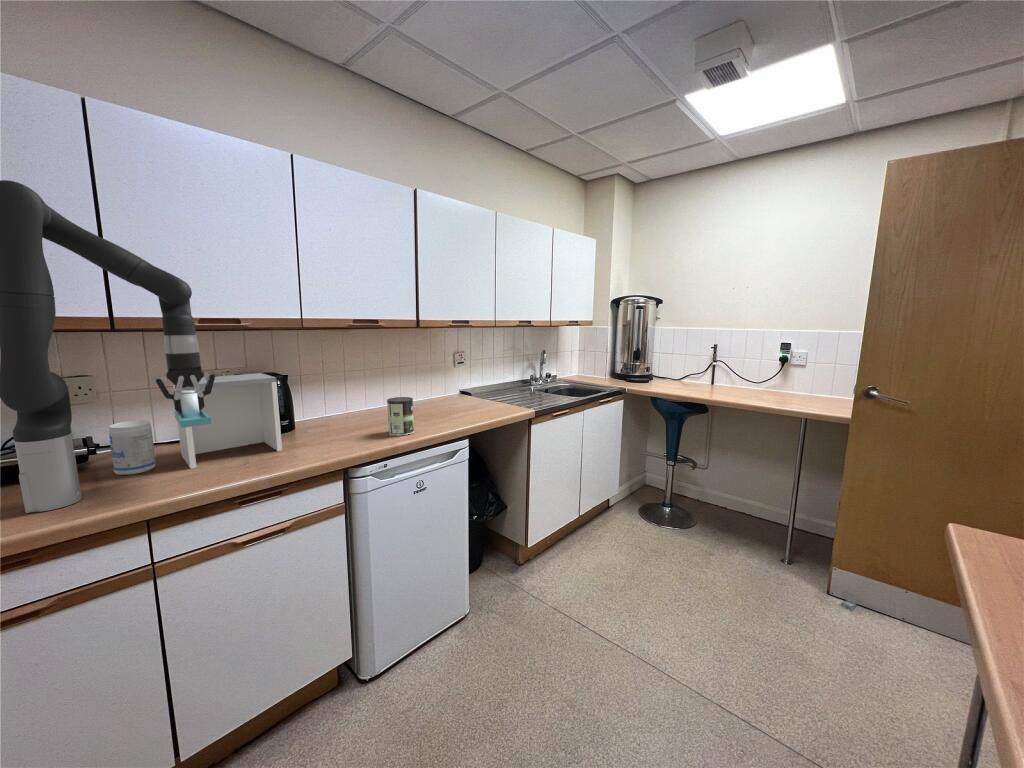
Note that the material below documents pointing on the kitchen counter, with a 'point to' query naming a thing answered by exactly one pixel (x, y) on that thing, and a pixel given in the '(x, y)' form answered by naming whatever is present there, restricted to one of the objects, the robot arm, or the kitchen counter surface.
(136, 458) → the supplement tub
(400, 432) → the coffee can
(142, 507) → the kitchen counter surface
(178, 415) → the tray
